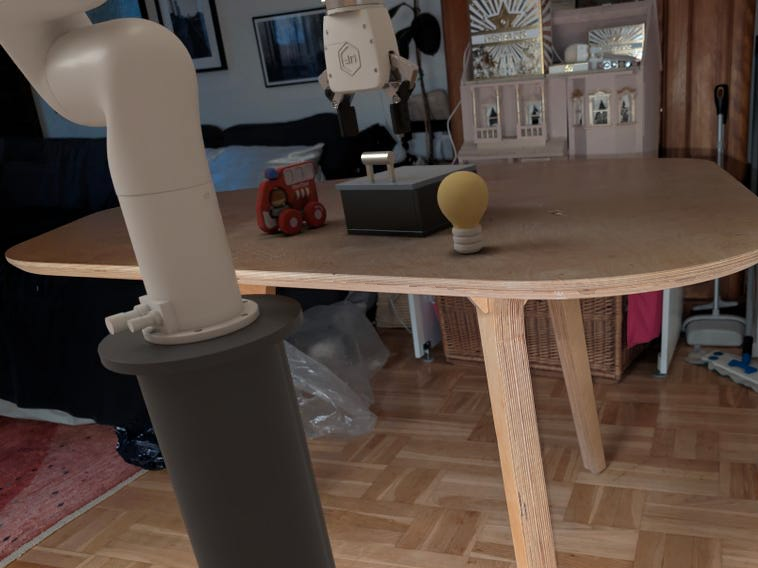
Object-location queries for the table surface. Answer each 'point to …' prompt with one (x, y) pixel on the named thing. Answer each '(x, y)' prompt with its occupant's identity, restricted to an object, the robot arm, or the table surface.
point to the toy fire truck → (289, 199)
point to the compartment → (394, 211)
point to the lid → (399, 174)
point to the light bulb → (464, 208)
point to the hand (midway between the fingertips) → (376, 134)
